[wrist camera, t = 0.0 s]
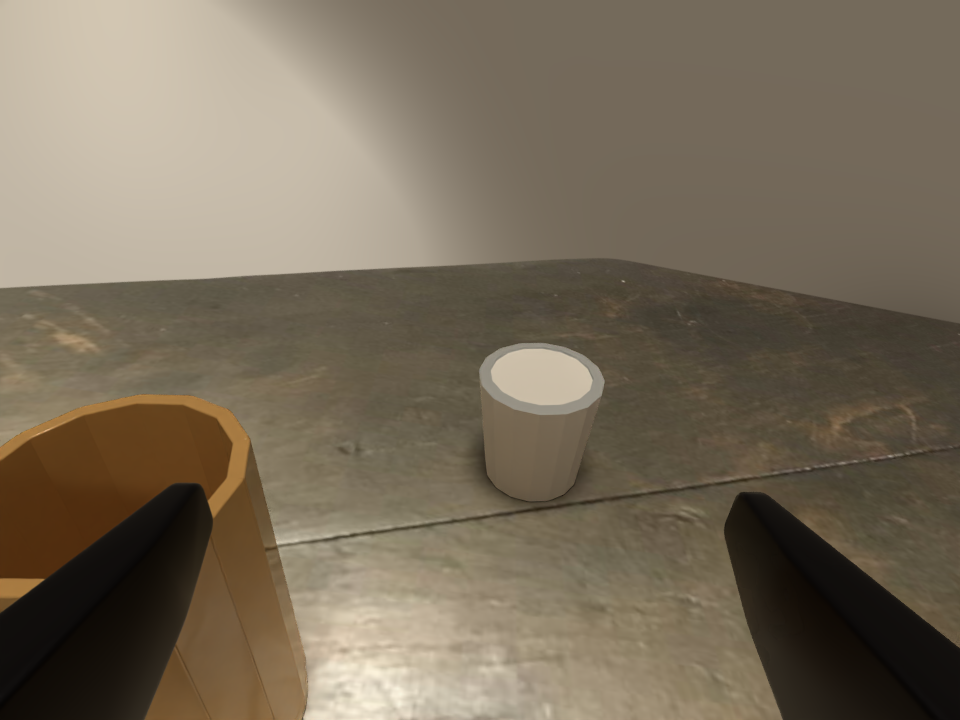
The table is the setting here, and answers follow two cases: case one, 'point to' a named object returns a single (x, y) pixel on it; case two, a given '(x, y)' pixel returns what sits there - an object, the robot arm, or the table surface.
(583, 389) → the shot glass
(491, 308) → the table surface
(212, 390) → the table surface
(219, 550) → the hollow tan tube
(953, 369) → the table surface
